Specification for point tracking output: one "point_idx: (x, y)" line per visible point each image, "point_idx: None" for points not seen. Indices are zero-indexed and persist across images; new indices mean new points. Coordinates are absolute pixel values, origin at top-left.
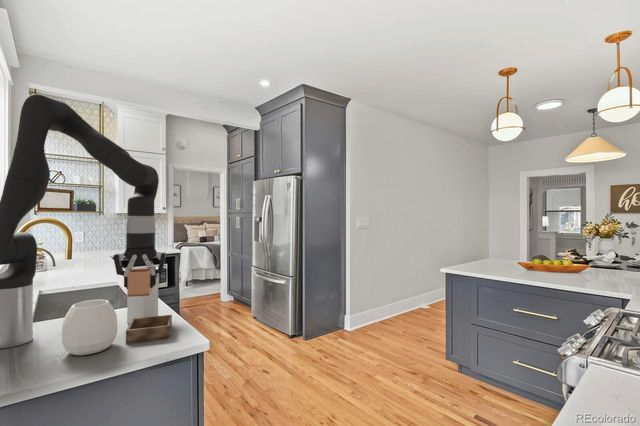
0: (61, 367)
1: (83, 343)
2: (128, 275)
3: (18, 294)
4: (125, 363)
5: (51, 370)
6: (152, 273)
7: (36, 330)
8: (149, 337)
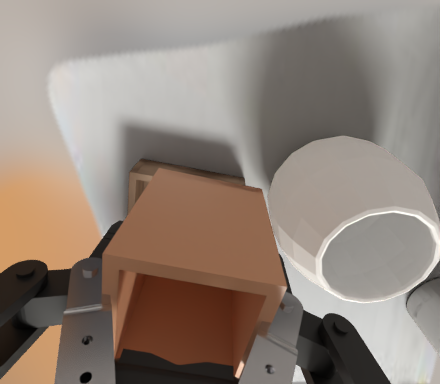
0: (390, 102)
1: (359, 139)
2: (276, 266)
3: None
4: (255, 34)
5: (411, 95)
6: (96, 267)
7: (391, 342)
8: (189, 171)
